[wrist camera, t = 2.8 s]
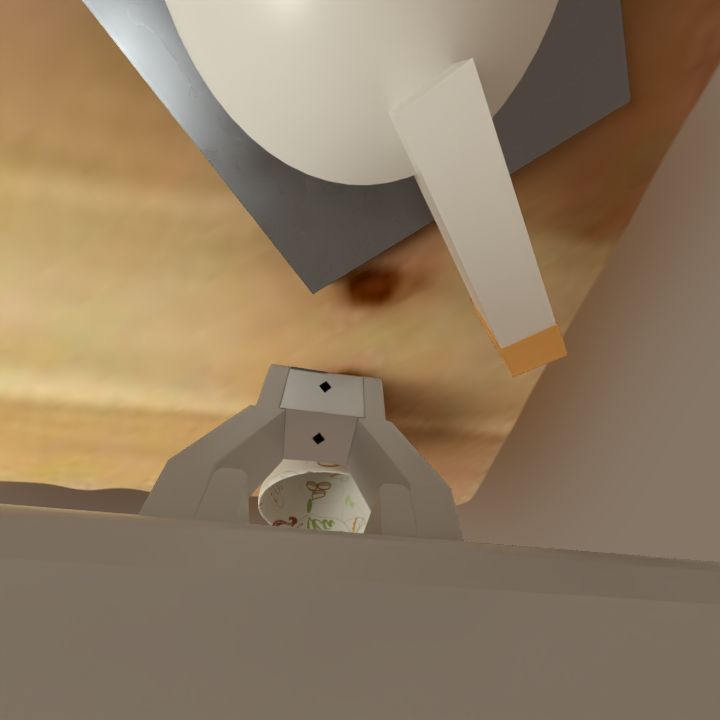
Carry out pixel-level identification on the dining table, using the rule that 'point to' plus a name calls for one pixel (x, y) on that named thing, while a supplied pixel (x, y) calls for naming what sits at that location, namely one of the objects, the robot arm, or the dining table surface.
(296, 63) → the white handled oval piece
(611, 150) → the dining table surface
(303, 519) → the mug
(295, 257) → the plate
